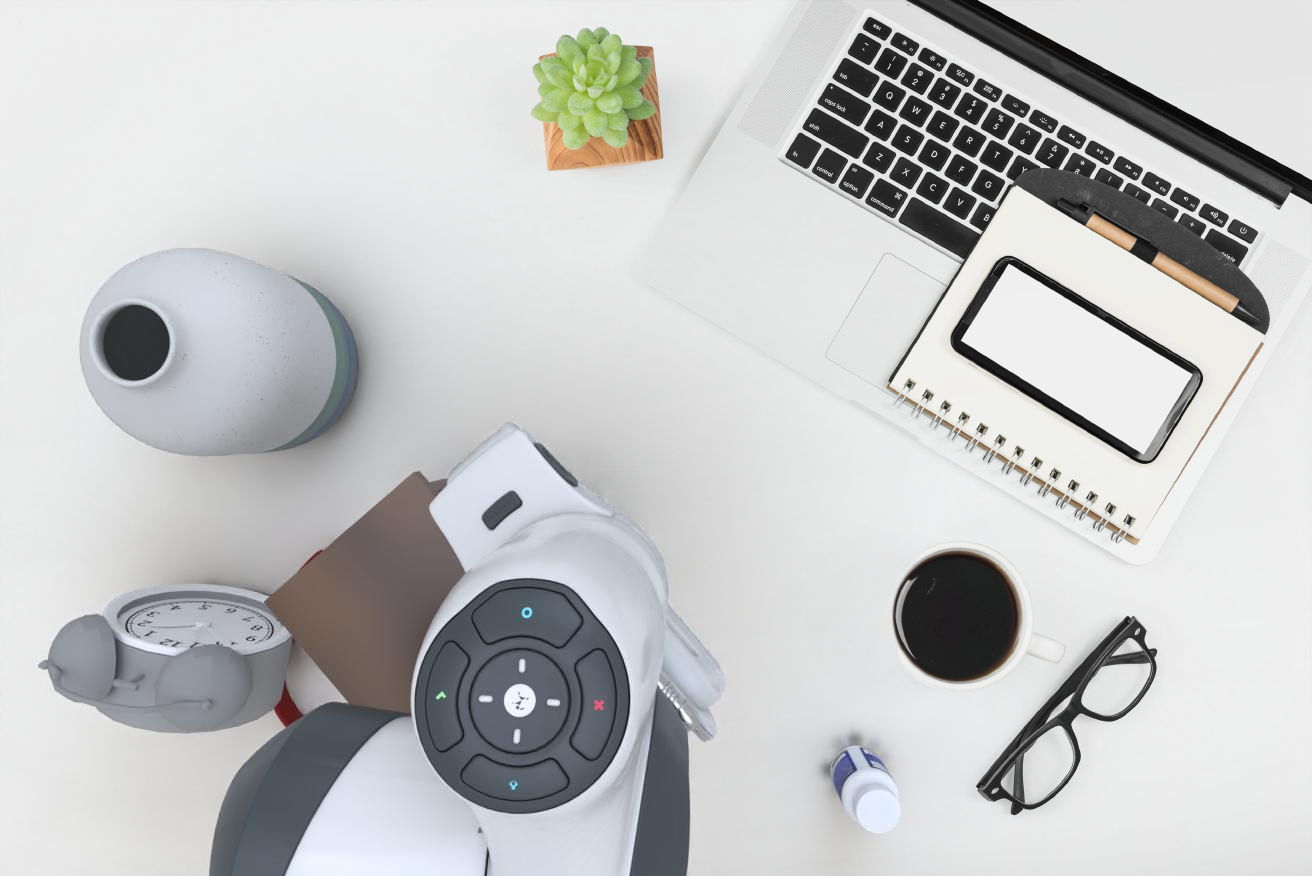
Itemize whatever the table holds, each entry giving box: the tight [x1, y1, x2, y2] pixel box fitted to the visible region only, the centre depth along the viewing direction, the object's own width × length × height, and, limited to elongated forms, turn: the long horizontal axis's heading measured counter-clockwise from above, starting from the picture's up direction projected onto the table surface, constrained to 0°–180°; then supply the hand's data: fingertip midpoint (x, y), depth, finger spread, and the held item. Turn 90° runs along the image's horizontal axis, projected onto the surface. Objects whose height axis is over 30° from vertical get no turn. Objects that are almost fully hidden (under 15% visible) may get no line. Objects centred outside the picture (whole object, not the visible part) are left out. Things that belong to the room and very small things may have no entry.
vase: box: [78, 247, 360, 457], centre depth 71 cm, size 17×17×24 cm
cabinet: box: [264, 470, 465, 714], centre depth 65 cm, size 12×14×35 cm
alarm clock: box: [37, 583, 294, 735], centre depth 72 cm, size 16×9×22 cm, turn 76°
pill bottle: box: [829, 744, 902, 835], centre depth 77 cm, size 5×5×9 cm
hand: (605, 552), depth 56 cm, fingers closed
